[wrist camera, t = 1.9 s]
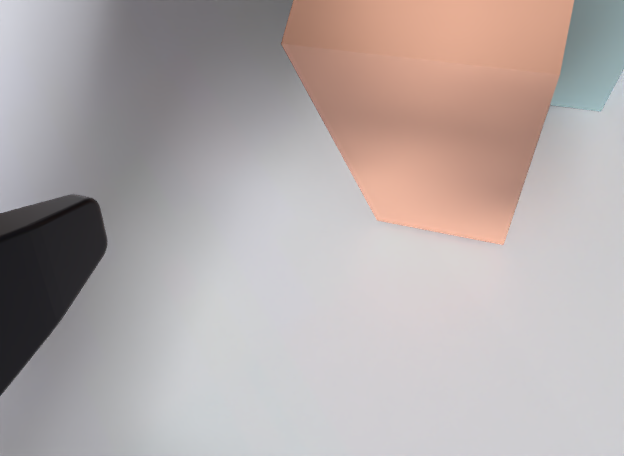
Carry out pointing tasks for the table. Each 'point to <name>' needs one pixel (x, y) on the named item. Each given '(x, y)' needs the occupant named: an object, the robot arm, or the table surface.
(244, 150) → the table surface
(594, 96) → the teal block
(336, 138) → the stub
